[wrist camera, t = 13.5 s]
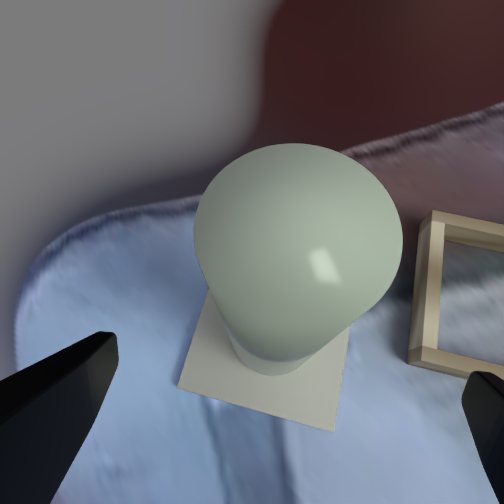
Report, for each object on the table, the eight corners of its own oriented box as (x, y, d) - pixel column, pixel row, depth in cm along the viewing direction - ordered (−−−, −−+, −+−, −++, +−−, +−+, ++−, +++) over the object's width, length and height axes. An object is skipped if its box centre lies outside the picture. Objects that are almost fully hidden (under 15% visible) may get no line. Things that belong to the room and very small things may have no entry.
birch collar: (578, 408, 20) (611, 408, 19) (406, 363, 21) (421, 360, 20) (566, 255, 24) (592, 243, 22) (419, 224, 25) (432, 209, 23)
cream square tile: (331, 431, 20) (334, 432, 19) (178, 388, 21) (176, 387, 20) (355, 282, 23) (357, 279, 23) (222, 250, 24) (221, 247, 24)
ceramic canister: (305, 386, 20) (390, 357, 7) (220, 363, 21) (164, 299, 8) (321, 302, 22) (411, 164, 9) (243, 283, 23) (226, 127, 10)
